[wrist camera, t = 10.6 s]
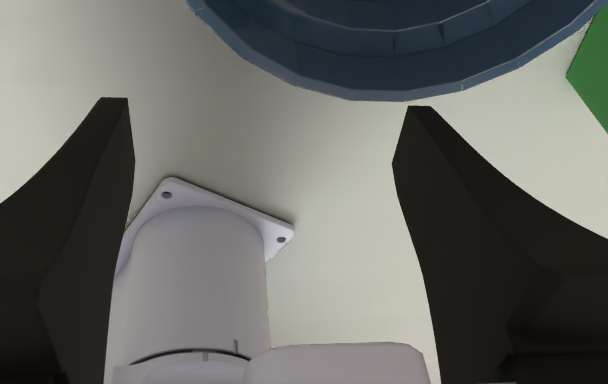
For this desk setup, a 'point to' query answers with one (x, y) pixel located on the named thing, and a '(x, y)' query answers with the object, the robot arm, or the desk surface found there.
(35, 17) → the desk surface
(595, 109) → the green rectangular block
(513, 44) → the bowl
